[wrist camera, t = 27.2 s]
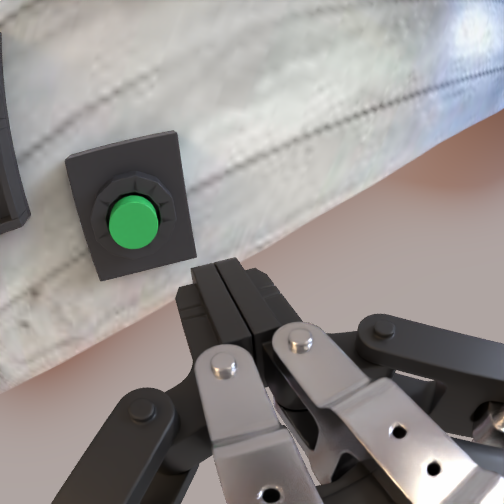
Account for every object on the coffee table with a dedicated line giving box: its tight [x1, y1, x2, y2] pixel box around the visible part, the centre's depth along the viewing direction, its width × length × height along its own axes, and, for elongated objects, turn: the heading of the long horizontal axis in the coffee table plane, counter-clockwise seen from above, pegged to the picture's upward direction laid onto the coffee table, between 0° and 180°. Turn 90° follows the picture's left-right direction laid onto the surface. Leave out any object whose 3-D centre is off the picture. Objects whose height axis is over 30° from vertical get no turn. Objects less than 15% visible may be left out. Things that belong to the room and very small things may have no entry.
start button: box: [109, 195, 158, 249], centre depth 22 cm, size 4×4×2 cm
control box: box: [65, 131, 197, 281], centre depth 24 cm, size 11×9×4 cm
